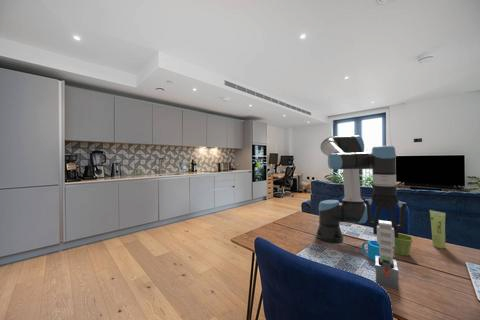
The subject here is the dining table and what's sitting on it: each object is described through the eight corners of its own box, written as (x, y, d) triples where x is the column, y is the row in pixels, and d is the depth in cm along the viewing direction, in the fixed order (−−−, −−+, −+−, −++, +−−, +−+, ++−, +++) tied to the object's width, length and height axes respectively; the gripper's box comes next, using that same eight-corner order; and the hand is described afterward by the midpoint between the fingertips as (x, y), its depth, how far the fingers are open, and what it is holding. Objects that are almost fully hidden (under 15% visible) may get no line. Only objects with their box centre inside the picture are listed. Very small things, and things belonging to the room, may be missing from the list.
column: (380, 264, 75) (379, 223, 75) (379, 258, 79) (378, 219, 79) (393, 267, 72) (392, 225, 73) (391, 260, 77) (390, 221, 77)
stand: (358, 283, 76) (358, 258, 76) (360, 269, 86) (360, 247, 86) (420, 301, 66) (419, 273, 66) (414, 283, 76) (413, 258, 76)
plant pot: (408, 259, 93) (407, 241, 93) (386, 251, 102) (385, 235, 102) (417, 254, 98) (416, 237, 98) (395, 247, 106) (395, 231, 106)
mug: (392, 263, 91) (392, 245, 91) (381, 267, 87) (381, 249, 87) (367, 252, 102) (367, 236, 102) (356, 255, 98) (356, 239, 99)
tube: (431, 246, 106) (430, 211, 106) (430, 243, 110) (429, 209, 110) (446, 249, 103) (445, 213, 103) (444, 246, 106) (443, 211, 107)
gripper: (358, 184, 78) (359, 242, 78) (414, 187, 68) (416, 253, 68) (359, 183, 84) (360, 236, 84) (411, 185, 74) (412, 245, 74)
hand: (385, 243), depth 76 cm, fingers closed on column, 4 cm apart
